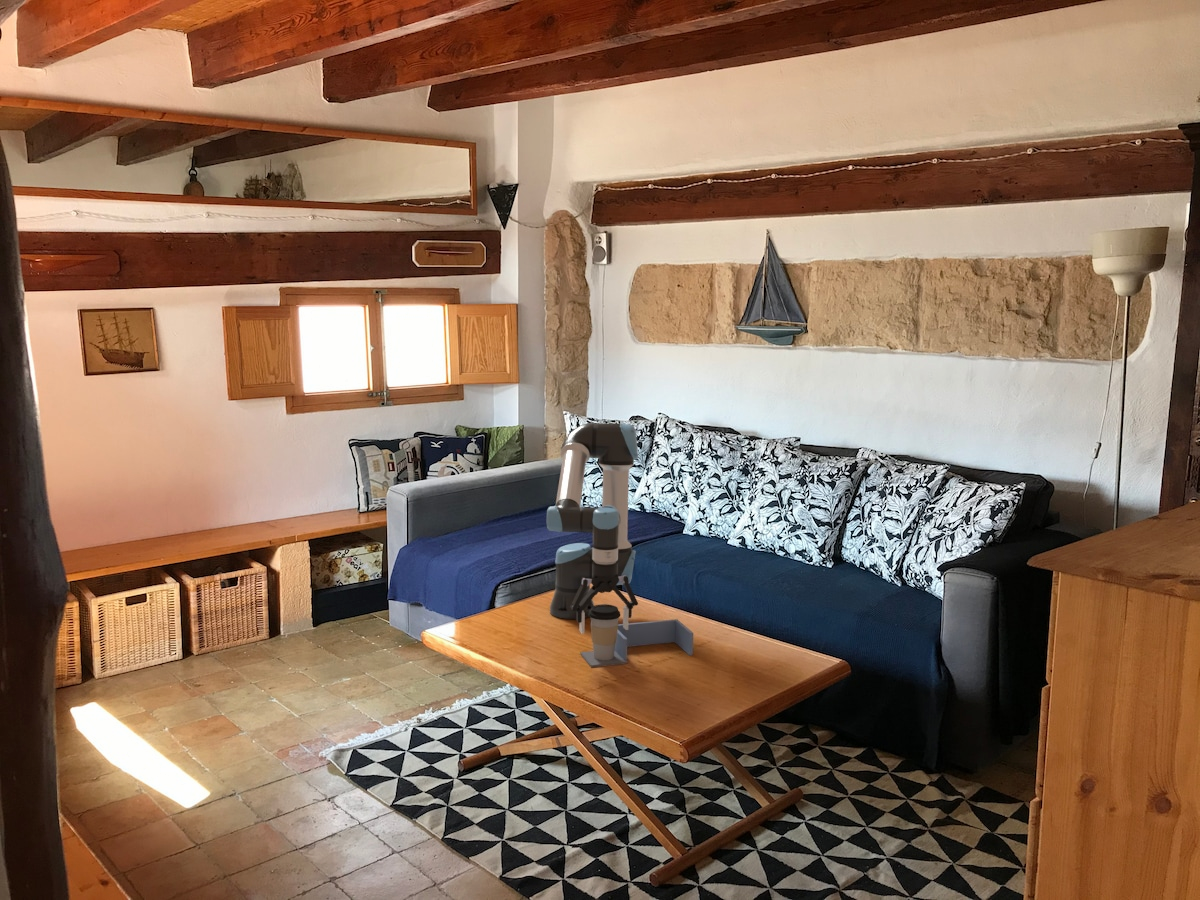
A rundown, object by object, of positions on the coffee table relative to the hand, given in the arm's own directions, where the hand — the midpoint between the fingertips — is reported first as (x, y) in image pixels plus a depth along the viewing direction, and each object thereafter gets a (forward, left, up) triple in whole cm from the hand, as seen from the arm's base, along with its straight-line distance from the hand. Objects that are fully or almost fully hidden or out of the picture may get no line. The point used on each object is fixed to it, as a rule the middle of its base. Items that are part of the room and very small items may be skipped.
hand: (603, 630), depth 294 cm
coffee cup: (0, 0, -8) cm, 8 cm away
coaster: (0, 0, -9) cm, 9 cm away
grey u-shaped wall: (-2, +16, -9) cm, 18 cm away
